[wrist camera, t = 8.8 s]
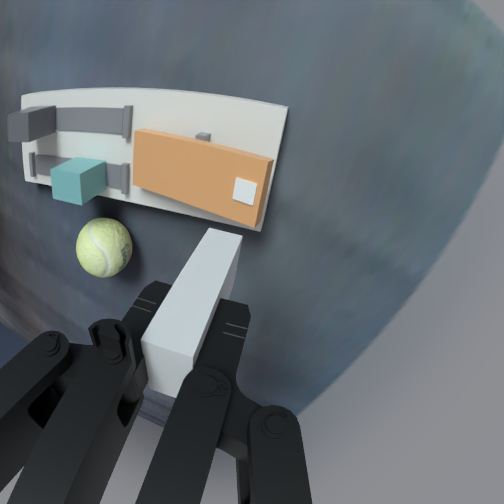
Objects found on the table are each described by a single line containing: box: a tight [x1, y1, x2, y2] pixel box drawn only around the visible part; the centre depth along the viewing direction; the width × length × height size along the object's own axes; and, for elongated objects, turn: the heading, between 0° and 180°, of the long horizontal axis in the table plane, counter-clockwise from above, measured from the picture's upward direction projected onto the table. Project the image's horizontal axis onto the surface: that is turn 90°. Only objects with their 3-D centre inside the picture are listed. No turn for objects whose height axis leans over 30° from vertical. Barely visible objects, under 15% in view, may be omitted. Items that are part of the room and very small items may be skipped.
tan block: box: [132, 128, 274, 228], centre depth 22 cm, size 12×5×1 cm, turn 78°
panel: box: [21, 88, 289, 232], centre depth 24 cm, size 30×11×3 cm, turn 79°
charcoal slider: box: [7, 105, 56, 142], centre depth 21 cm, size 4×3×4 cm
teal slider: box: [50, 157, 106, 205], centre depth 24 cm, size 4×3×4 cm
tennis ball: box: [76, 218, 132, 277], centre depth 29 cm, size 6×7×7 cm
